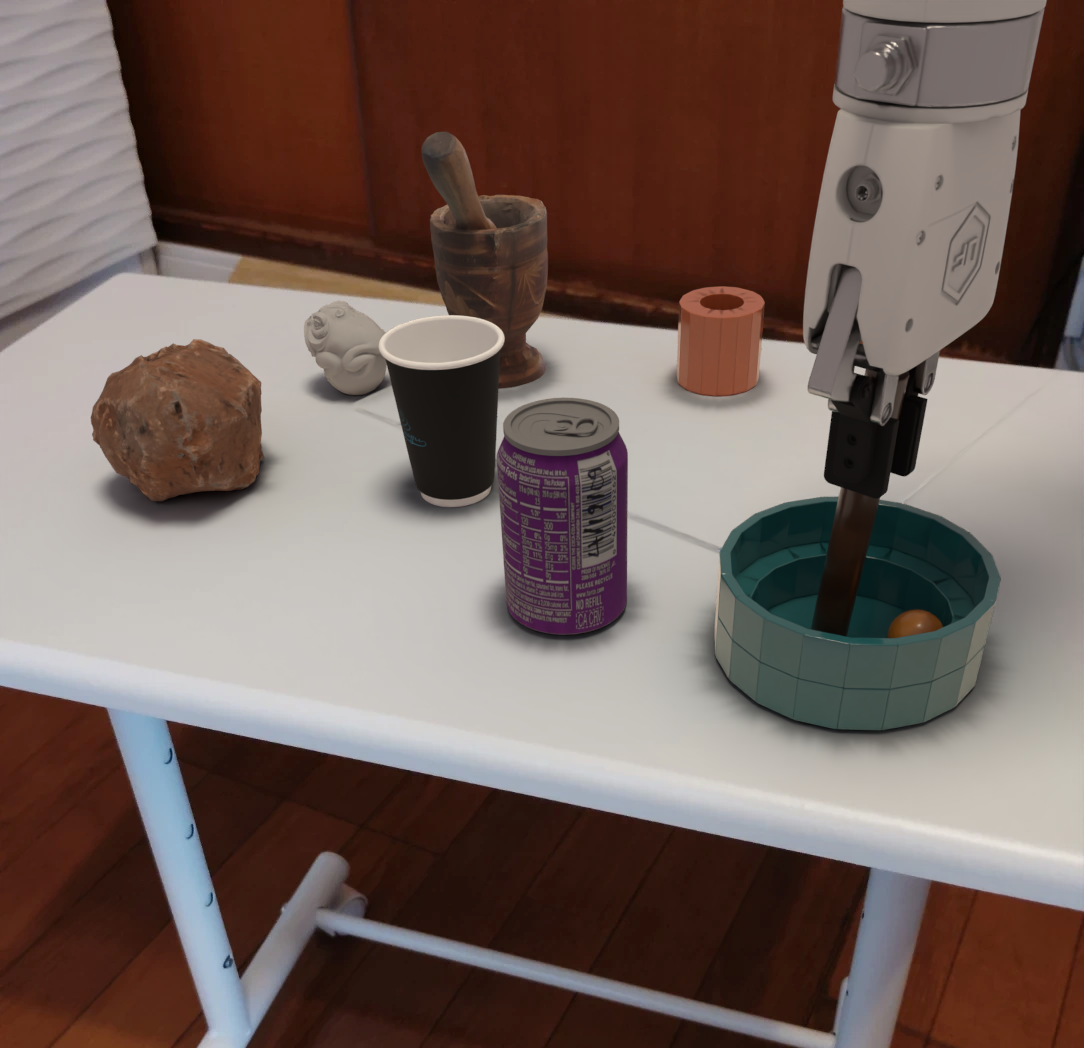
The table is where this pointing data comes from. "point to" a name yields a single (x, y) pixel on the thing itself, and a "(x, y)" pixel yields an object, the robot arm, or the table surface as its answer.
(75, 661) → the table surface
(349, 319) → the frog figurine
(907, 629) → the bead
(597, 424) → the beverage can
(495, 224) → the mortar and pestle
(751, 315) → the holder
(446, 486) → the dixie cup
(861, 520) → the stirring stick
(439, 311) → the table surface
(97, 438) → the decorative rock
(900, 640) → the bowl
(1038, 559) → the table surface
